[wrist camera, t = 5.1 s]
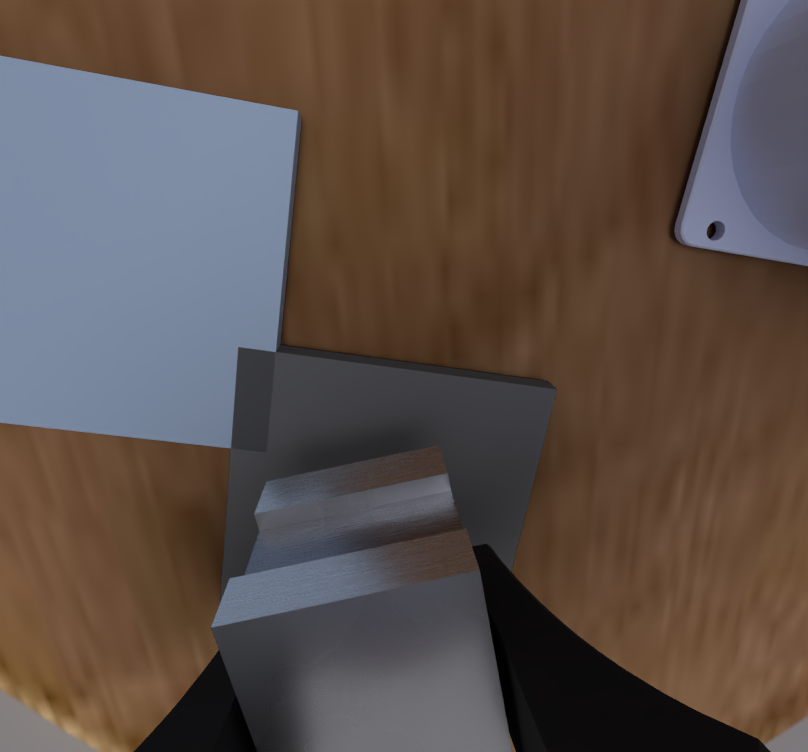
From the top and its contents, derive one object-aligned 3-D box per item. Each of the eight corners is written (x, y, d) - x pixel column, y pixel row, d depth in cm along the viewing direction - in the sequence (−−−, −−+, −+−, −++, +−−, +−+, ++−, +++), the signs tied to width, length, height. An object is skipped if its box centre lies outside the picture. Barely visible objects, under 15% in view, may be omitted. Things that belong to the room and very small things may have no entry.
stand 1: (302, 116, 13) (298, 111, 13) (271, 441, 16) (266, 452, 15) (-85, 45, 12) (-115, 34, 12) (-53, 404, 15) (-75, 414, 14)
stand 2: (547, 381, 16) (557, 389, 15) (488, 623, 18) (493, 641, 18) (244, 340, 15) (238, 346, 14) (225, 602, 17) (218, 620, 17)
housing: (478, 651, 14) (529, 847, 9) (328, 683, 14) (310, 896, 9) (438, 445, 12) (479, 570, 8) (266, 481, 12) (210, 627, 8)
